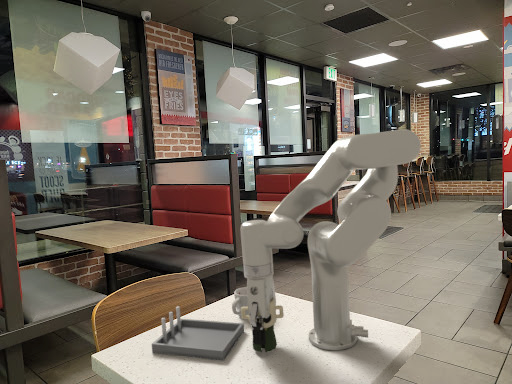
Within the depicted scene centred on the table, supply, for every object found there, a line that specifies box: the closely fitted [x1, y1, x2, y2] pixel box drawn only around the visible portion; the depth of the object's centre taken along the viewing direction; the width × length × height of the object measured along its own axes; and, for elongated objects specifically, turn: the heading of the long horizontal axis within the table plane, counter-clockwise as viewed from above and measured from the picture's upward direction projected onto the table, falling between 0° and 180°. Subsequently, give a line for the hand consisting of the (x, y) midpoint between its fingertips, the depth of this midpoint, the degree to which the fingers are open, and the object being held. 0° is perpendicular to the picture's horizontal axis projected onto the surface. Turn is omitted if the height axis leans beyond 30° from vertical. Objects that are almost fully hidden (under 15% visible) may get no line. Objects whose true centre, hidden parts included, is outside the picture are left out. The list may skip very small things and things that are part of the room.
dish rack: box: [151, 305, 245, 362], centre depth 101 cm, size 20×16×8 cm
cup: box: [231, 286, 249, 318], centre depth 117 cm, size 11×8×8 cm
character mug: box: [240, 297, 285, 353], centre depth 95 cm, size 11×7×13 cm, turn 83°
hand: (264, 336), depth 95 cm, fingers closed on character mug, 7 cm apart
